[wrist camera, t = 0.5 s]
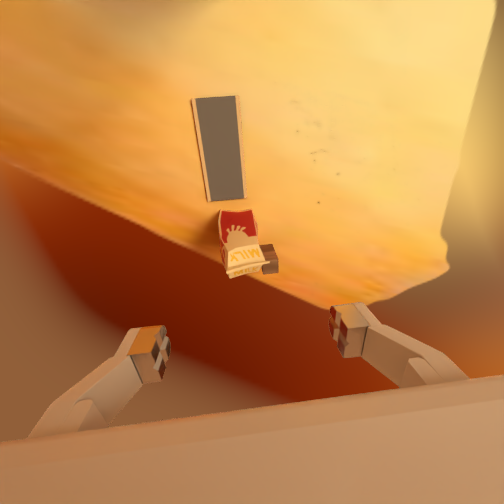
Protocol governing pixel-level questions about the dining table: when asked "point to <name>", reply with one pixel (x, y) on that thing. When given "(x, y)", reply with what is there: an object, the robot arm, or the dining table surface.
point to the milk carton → (239, 242)
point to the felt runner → (221, 146)
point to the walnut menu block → (269, 259)
